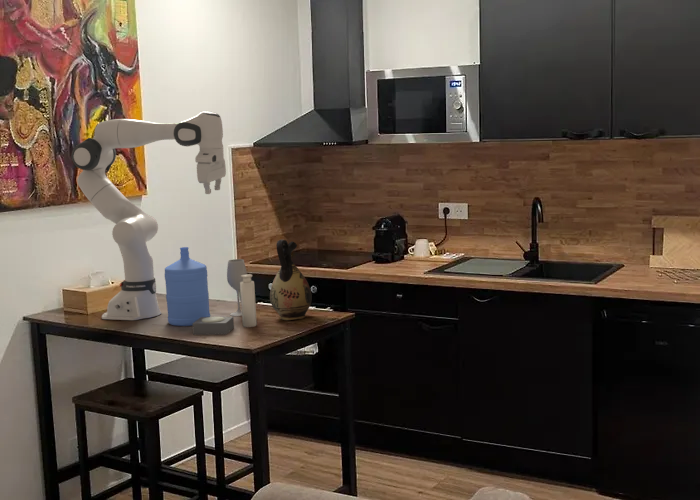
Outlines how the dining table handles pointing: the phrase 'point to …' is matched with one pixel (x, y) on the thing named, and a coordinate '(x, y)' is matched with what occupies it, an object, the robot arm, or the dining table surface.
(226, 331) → the plinth
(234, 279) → the wineglass
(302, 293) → the ceramic jug
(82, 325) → the dining table surface
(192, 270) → the water jug
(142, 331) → the dining table surface
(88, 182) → the robot arm
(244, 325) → the vase
